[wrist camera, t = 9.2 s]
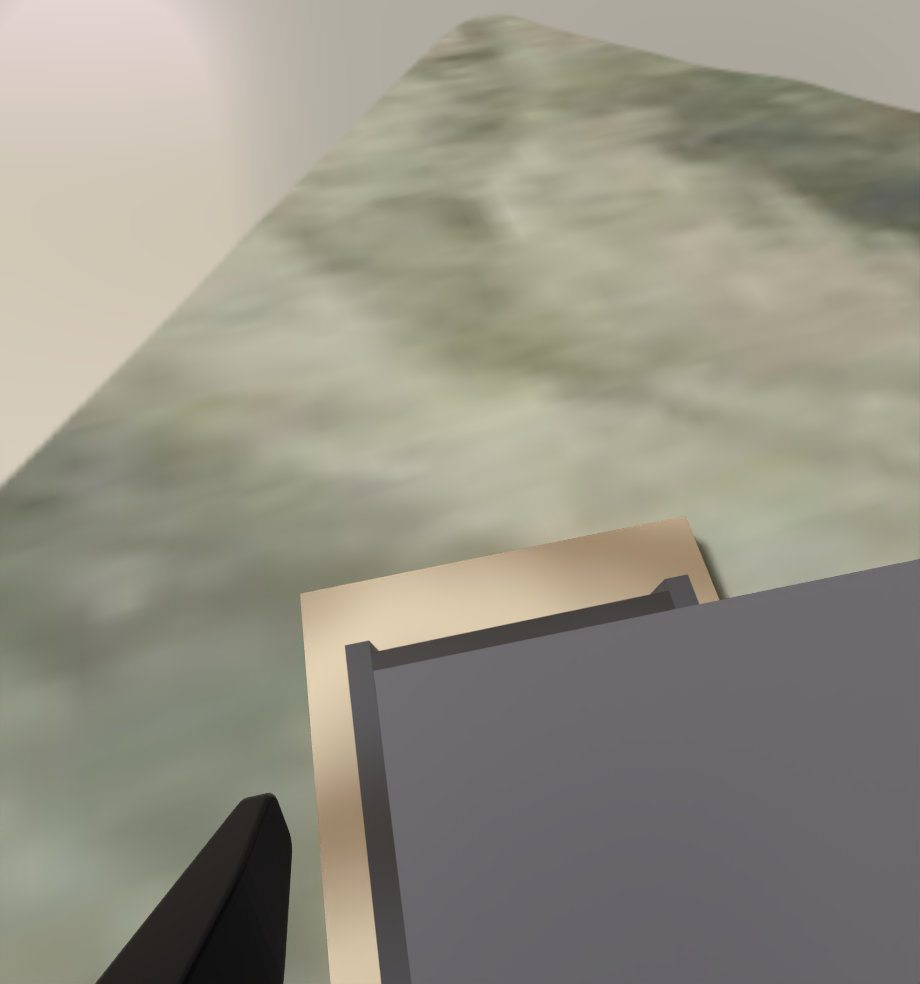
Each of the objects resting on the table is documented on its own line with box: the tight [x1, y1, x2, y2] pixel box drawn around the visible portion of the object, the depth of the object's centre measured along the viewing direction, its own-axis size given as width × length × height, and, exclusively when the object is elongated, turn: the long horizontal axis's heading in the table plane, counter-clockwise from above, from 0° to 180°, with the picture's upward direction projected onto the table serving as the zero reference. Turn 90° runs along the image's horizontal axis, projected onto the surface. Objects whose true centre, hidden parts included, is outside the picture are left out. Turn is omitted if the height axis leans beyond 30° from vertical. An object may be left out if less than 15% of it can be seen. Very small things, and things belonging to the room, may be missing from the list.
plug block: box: [373, 559, 920, 984], centre depth 9 cm, size 4×4×12 cm
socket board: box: [300, 516, 719, 984], centre depth 14 cm, size 14×12×4 cm
